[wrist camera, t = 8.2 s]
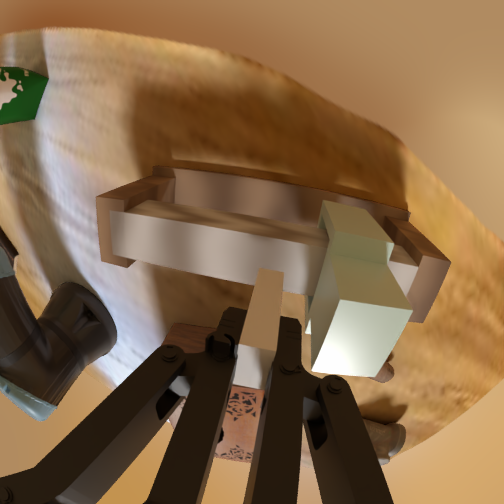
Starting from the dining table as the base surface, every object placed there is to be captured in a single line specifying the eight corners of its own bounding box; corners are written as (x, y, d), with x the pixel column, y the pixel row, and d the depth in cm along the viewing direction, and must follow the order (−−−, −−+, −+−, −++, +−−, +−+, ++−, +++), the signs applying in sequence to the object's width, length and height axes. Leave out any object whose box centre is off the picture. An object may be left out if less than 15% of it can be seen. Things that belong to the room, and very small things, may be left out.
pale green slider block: (304, 279, 26) (304, 386, 14) (322, 199, 23) (349, 270, 11) (342, 286, 26) (365, 391, 14) (365, 209, 22) (425, 284, 11)
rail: (154, 229, 32) (101, 272, 22) (156, 165, 29) (93, 185, 19) (387, 273, 30) (418, 334, 20) (408, 210, 26) (457, 252, 16)
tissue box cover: (175, 321, 38) (147, 368, 29) (273, 333, 36) (264, 389, 27) (198, 412, 49) (184, 450, 40) (266, 423, 47) (259, 464, 38)
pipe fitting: (407, 418, 41) (408, 459, 32) (381, 433, 45) (379, 471, 36) (368, 405, 42) (365, 450, 33) (342, 421, 46) (336, 462, 37)
